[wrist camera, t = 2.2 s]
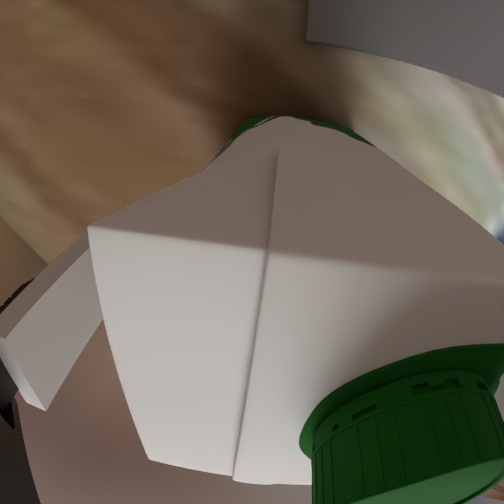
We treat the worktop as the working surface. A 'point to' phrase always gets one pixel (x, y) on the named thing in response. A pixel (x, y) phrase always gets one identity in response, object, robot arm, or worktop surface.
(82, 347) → the robot arm
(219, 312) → the soya milk
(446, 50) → the charcoal mat
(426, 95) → the worktop surface
